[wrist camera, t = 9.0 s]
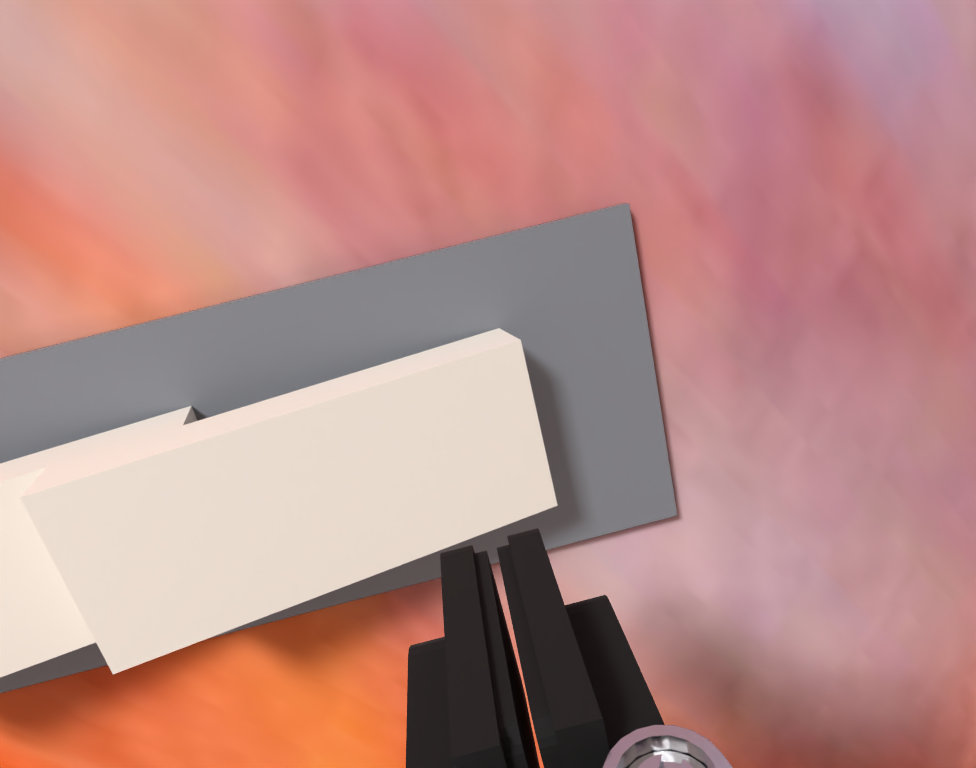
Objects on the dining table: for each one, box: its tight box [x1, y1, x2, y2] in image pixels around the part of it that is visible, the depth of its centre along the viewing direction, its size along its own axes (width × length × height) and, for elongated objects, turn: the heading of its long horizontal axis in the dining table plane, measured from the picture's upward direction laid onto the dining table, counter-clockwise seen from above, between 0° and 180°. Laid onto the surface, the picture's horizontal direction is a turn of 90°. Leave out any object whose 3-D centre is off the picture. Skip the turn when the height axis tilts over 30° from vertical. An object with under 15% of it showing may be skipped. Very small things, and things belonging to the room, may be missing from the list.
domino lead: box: [20, 328, 558, 674], centre depth 17 cm, size 2×5×12 cm
